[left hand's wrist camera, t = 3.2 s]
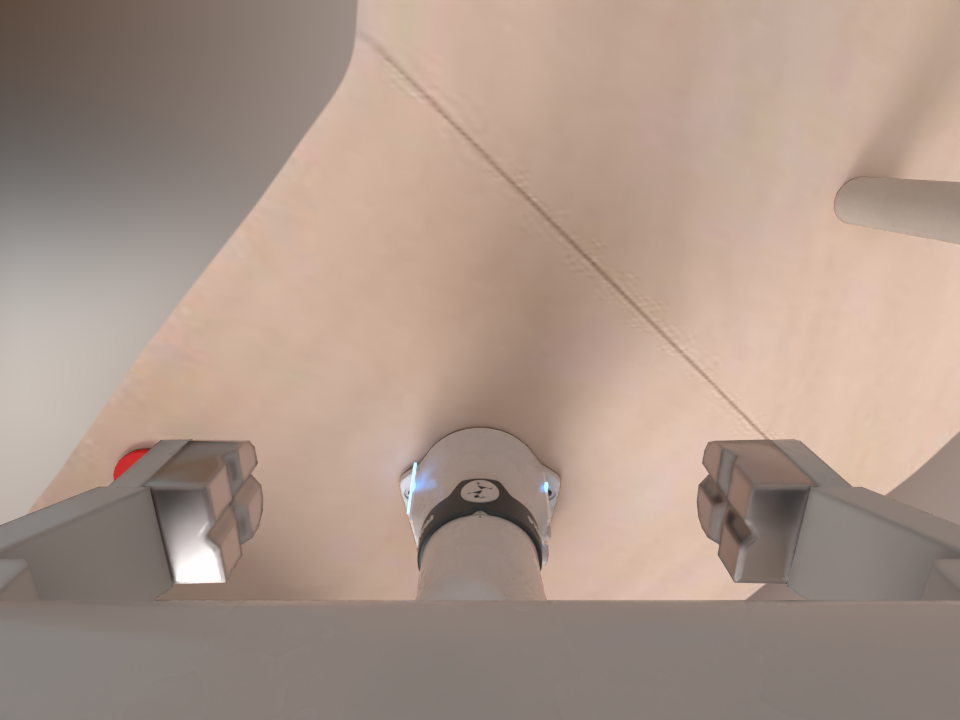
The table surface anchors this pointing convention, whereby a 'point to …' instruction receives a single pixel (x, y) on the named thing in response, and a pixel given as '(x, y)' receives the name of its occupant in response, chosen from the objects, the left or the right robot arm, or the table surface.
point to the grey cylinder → (902, 206)
